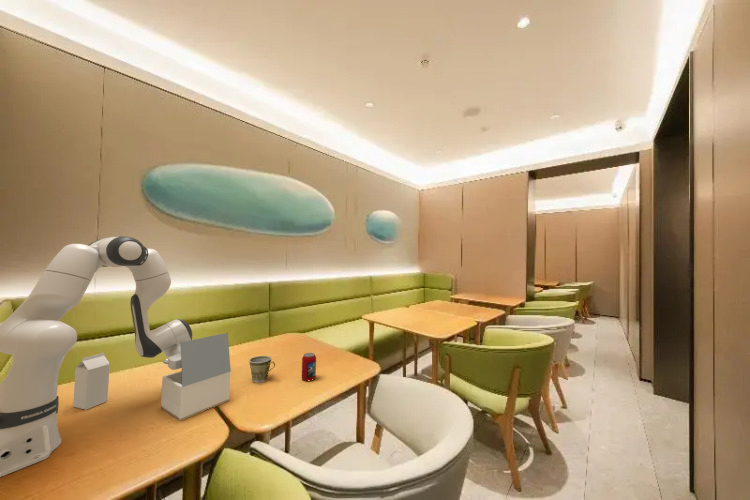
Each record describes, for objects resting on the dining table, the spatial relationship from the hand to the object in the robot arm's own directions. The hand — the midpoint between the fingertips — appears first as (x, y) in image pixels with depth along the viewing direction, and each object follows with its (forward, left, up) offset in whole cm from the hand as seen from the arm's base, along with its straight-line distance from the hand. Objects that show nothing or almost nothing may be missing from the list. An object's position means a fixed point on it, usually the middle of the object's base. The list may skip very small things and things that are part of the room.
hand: (208, 360), depth 111 cm
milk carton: (-13, +44, -19) cm, 50 cm away
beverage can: (+38, -23, -19) cm, 48 cm away
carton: (+1, +6, -18) cm, 19 cm away
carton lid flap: (-1, 0, +1) cm, 1 cm away
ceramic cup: (+29, -3, -19) cm, 35 cm away
